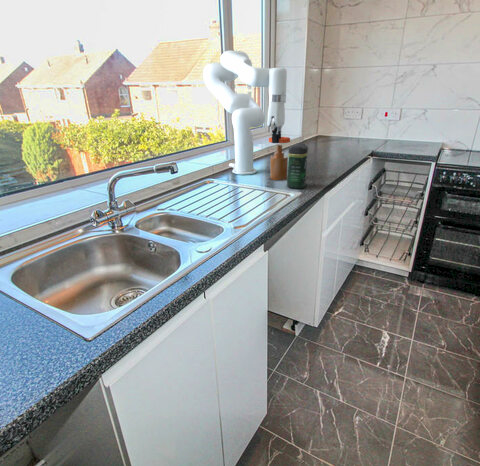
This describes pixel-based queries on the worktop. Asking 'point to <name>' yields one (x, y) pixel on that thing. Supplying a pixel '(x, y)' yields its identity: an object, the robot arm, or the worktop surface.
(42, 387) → the worktop surface
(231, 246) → the worktop surface
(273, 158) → the bottle
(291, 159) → the coffee jar
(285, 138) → the bung
